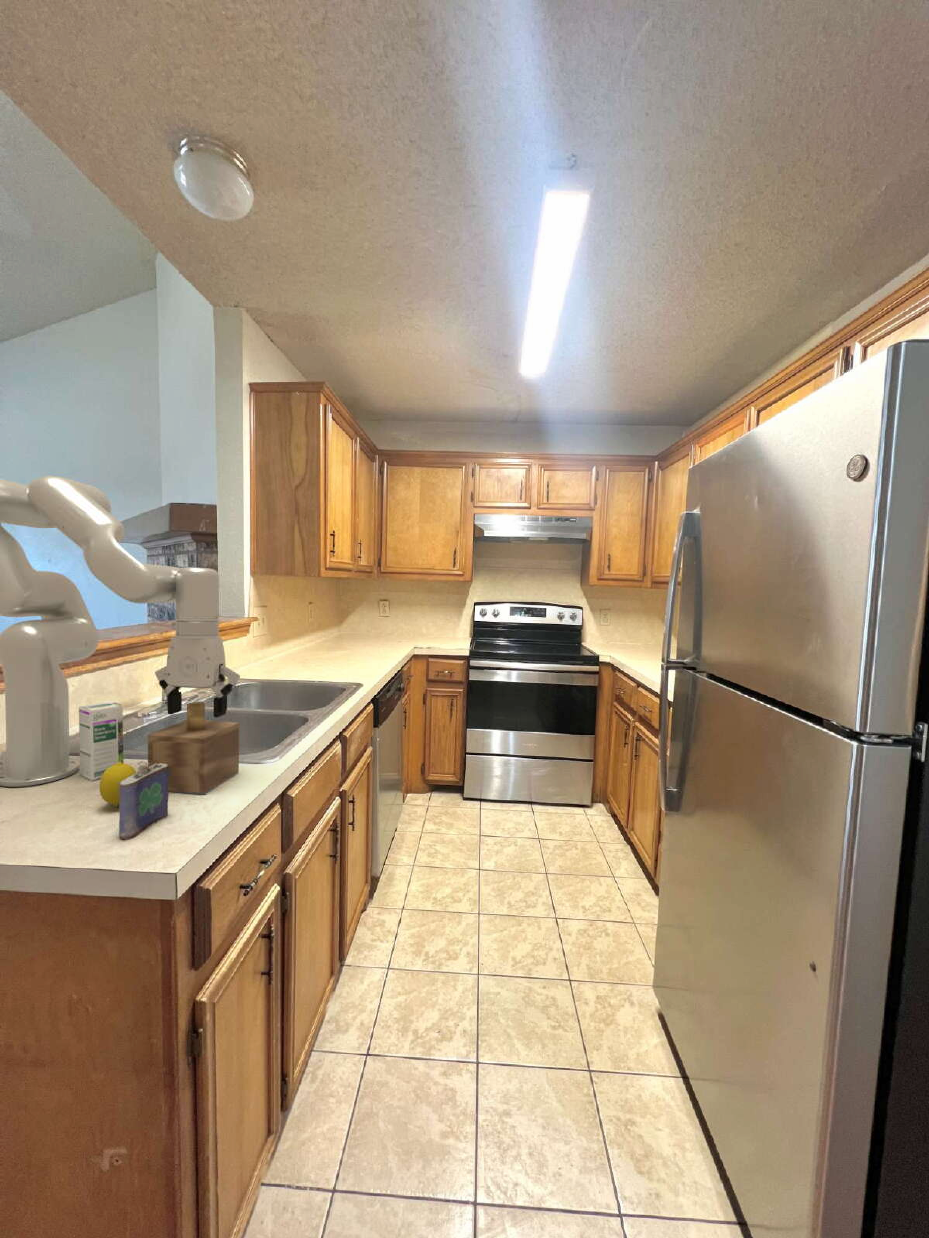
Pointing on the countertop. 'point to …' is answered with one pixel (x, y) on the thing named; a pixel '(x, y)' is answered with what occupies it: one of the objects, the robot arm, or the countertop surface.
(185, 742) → the brown block with knob
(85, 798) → the countertop surface
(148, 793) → the flask
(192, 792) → the mat
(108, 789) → the lemon
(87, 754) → the syrup box
